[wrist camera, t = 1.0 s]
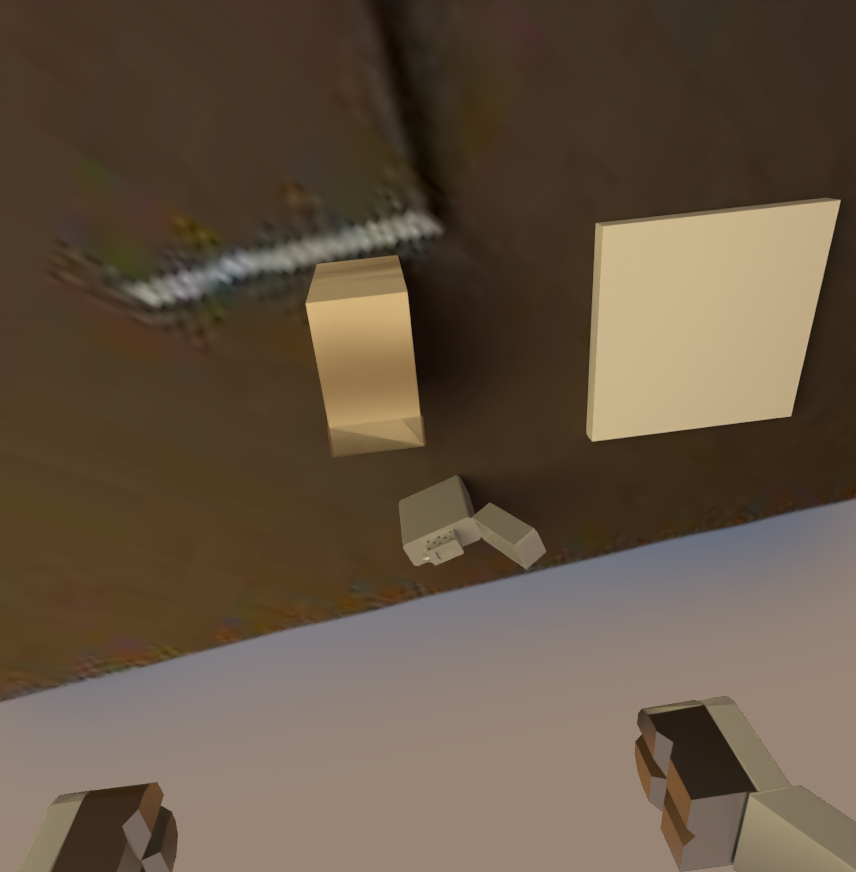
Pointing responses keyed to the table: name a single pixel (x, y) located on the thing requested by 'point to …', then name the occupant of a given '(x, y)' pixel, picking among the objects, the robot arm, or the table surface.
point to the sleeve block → (365, 356)
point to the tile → (703, 316)
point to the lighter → (461, 526)
